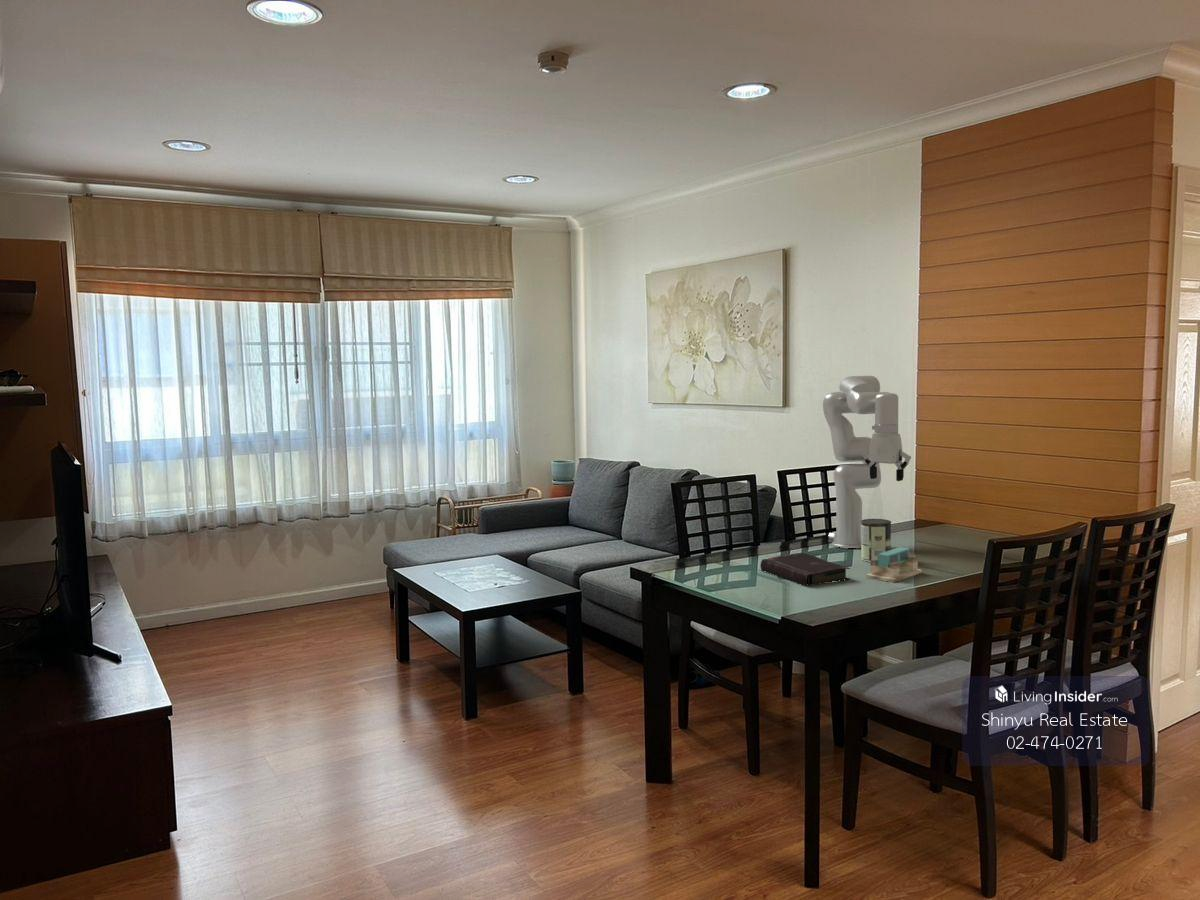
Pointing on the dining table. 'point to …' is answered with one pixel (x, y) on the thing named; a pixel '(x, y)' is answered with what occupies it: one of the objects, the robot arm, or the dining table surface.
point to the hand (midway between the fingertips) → (886, 479)
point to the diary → (804, 569)
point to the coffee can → (875, 538)
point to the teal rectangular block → (893, 556)
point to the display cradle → (894, 570)
